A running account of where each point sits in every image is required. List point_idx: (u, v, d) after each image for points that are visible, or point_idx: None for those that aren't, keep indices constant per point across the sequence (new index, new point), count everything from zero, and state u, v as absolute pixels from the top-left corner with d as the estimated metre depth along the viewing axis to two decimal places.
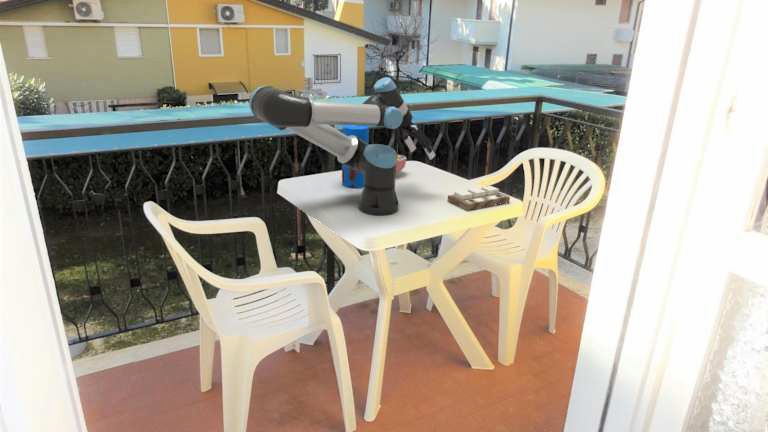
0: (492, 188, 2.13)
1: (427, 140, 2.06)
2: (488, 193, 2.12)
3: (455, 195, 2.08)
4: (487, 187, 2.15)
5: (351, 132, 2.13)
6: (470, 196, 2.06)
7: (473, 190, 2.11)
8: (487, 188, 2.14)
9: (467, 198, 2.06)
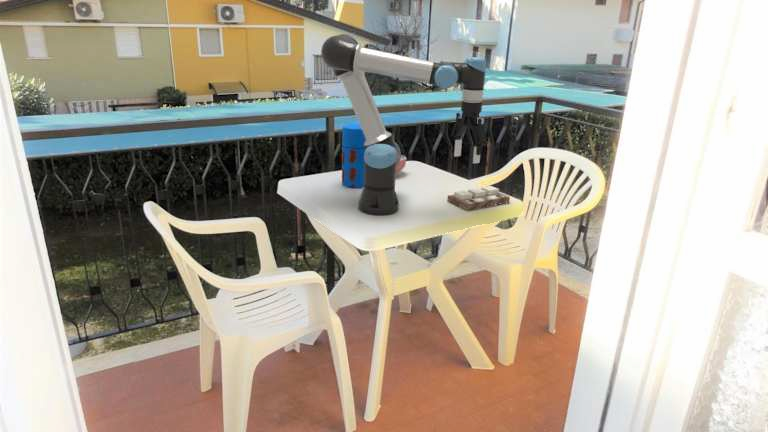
0: (492, 188, 2.13)
1: (484, 139, 1.93)
2: (488, 193, 2.12)
3: (455, 195, 2.08)
4: (487, 187, 2.15)
5: (351, 132, 2.13)
6: (470, 196, 2.06)
7: (473, 190, 2.11)
8: (487, 188, 2.14)
9: (467, 198, 2.06)
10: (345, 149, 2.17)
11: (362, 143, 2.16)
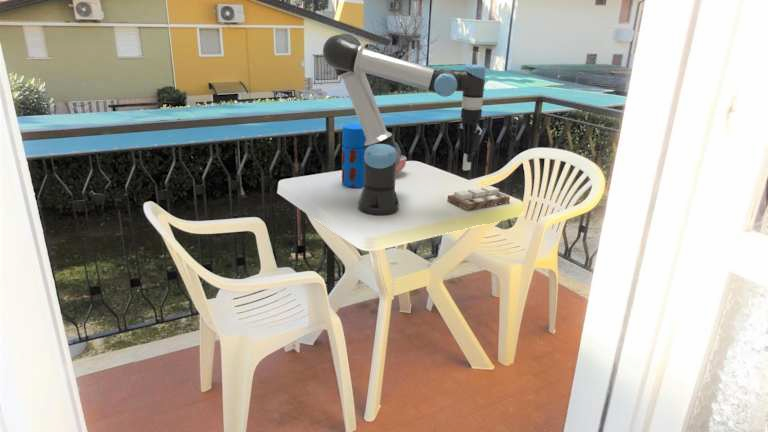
0: (492, 188, 2.13)
1: (476, 148, 1.98)
2: (488, 193, 2.12)
3: (455, 195, 2.08)
4: (487, 187, 2.15)
5: (351, 132, 2.13)
6: (470, 196, 2.06)
7: (473, 190, 2.11)
8: (487, 188, 2.14)
9: (467, 198, 2.06)
10: (345, 149, 2.17)
11: (362, 143, 2.16)
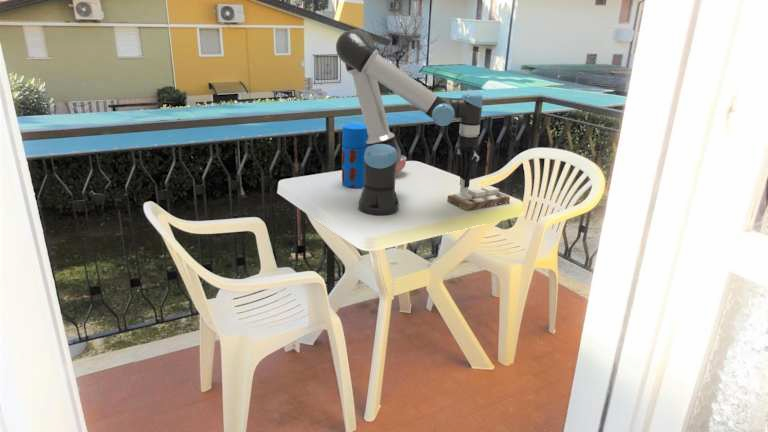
0: (492, 188, 2.13)
1: (473, 174, 2.01)
2: (488, 193, 2.12)
3: (455, 197, 2.08)
4: (487, 187, 2.15)
5: (351, 132, 2.13)
6: (470, 198, 2.07)
7: (473, 190, 2.11)
8: (487, 188, 2.14)
9: None
10: (345, 149, 2.17)
11: (362, 143, 2.16)
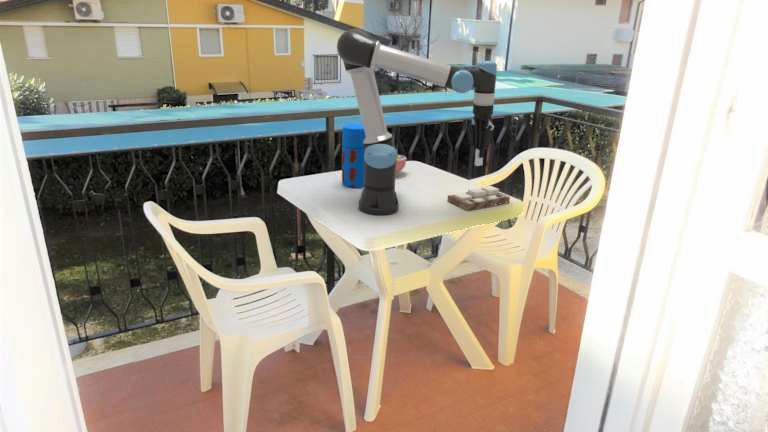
0: (492, 188, 2.13)
1: (488, 144, 2.00)
2: (488, 193, 2.12)
3: None
4: (487, 187, 2.15)
5: (351, 132, 2.13)
6: None
7: (473, 190, 2.11)
8: (487, 188, 2.14)
9: None
10: (345, 149, 2.17)
11: (362, 143, 2.16)
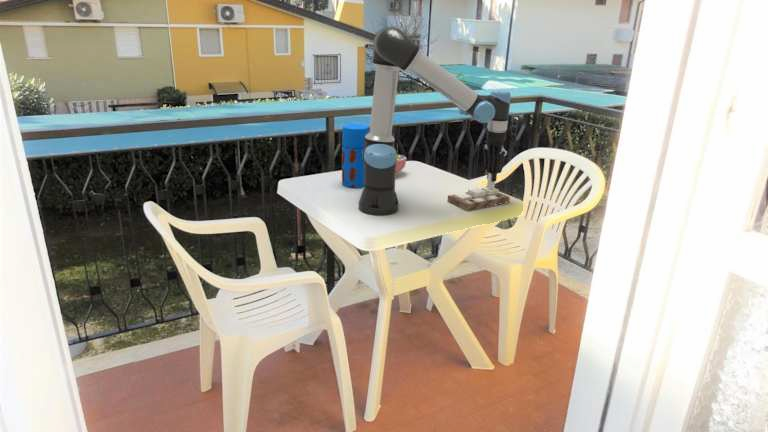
0: (492, 189, 2.14)
1: (500, 168, 2.08)
2: (488, 194, 2.12)
3: None
4: None
5: (351, 132, 2.13)
6: None
7: (473, 190, 2.11)
8: (487, 189, 2.14)
9: None
10: (345, 149, 2.17)
11: (362, 143, 2.16)
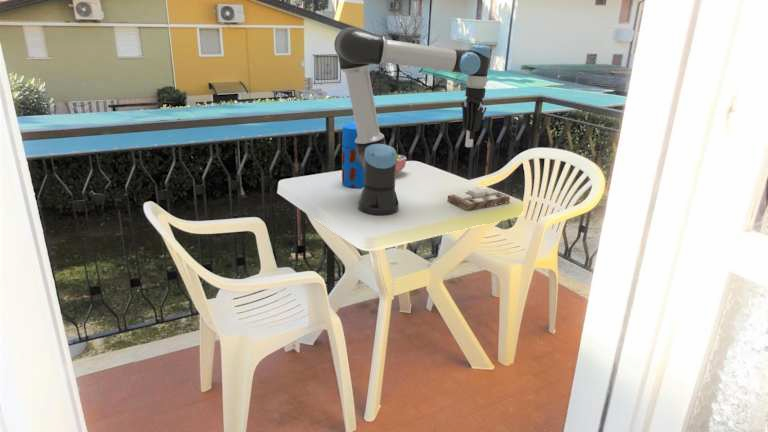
0: (491, 191, 2.14)
1: (478, 125, 2.07)
2: None
3: None
4: (487, 190, 2.15)
5: (351, 132, 2.13)
6: None
7: (473, 190, 2.11)
8: (487, 191, 2.14)
9: None
10: (345, 149, 2.17)
11: None
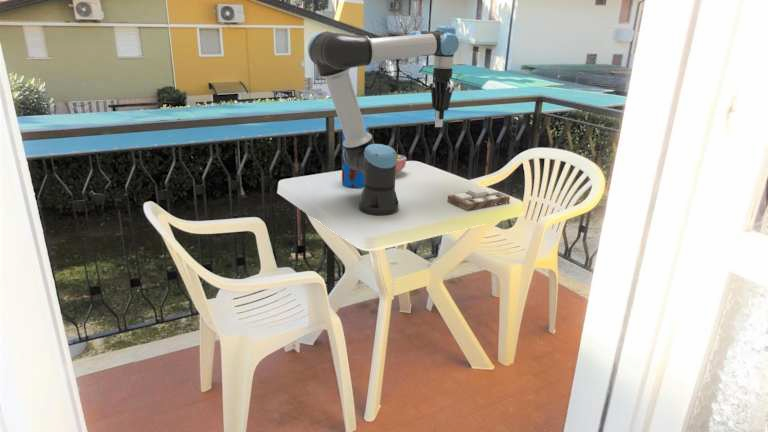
0: (491, 191, 2.14)
1: (447, 105, 2.11)
2: None
3: None
4: (487, 190, 2.15)
5: None
6: None
7: (473, 190, 2.11)
8: (487, 191, 2.14)
9: None
10: None
11: None
